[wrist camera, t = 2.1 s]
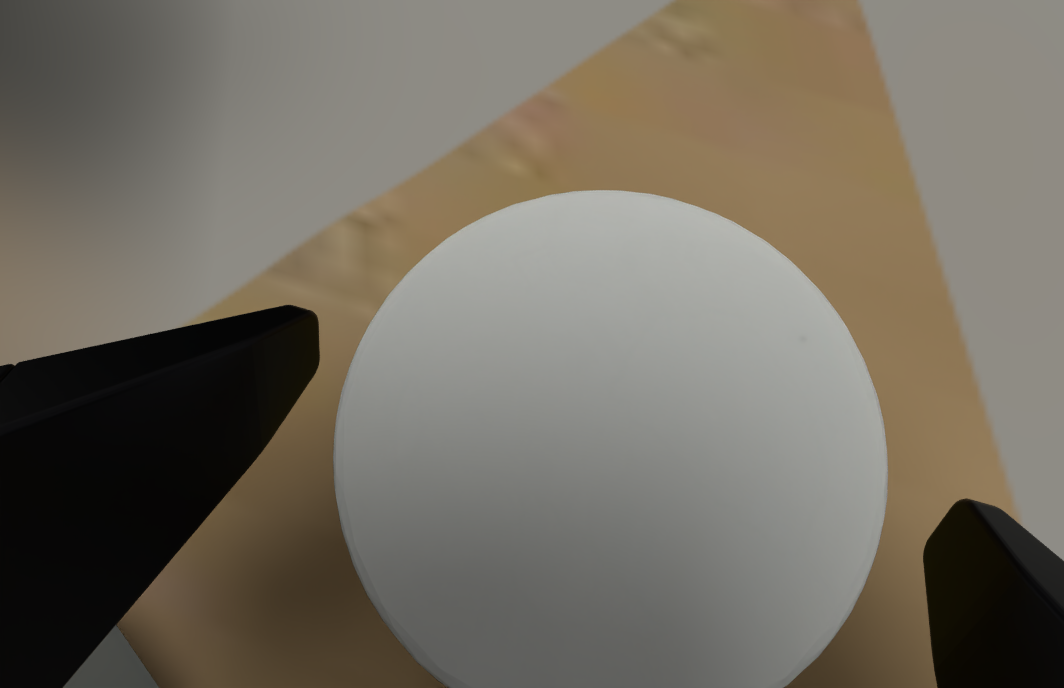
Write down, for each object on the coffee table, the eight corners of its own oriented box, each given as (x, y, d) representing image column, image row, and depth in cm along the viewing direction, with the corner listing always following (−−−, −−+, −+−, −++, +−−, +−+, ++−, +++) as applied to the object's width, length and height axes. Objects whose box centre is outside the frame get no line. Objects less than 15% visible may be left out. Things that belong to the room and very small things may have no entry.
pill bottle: (722, 389, 16) (1000, 149, 6) (697, 642, 15) (1016, 988, 4) (492, 353, 17) (345, 80, 6) (444, 591, 15) (141, 769, 5)
